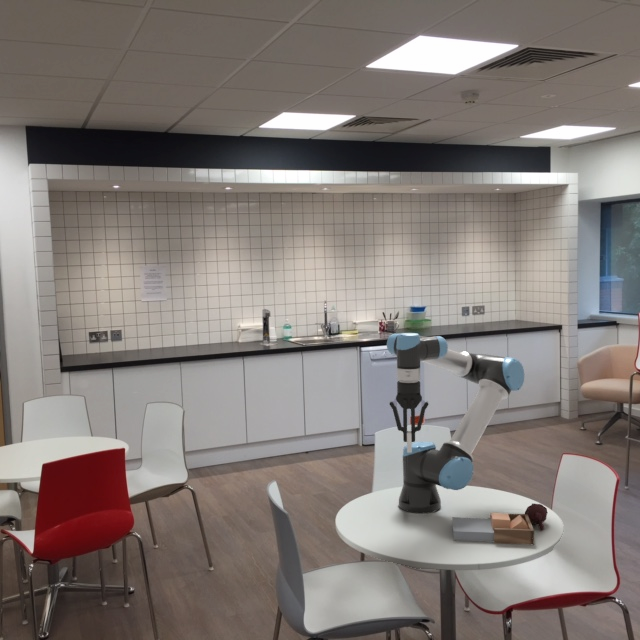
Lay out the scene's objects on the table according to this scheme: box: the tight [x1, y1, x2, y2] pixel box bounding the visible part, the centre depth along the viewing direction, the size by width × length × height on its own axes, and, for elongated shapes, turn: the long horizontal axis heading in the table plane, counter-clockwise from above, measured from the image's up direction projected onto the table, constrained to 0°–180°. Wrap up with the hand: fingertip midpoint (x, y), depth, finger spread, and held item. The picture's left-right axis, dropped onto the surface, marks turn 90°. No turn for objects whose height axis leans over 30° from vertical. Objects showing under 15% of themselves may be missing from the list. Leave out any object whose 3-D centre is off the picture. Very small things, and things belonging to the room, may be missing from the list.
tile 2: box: [510, 515, 529, 529], centre depth 226 cm, size 6×6×3 cm
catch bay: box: [489, 512, 535, 546], centre depth 226 cm, size 14×12×4 cm
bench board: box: [451, 516, 494, 543], centre depth 228 cm, size 12×12×3 cm
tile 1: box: [490, 512, 510, 530], centre depth 227 cm, size 6×6×3 cm
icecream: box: [524, 503, 548, 531], centre depth 236 cm, size 7×7×15 cm
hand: (409, 451), depth 231 cm, fingers closed
